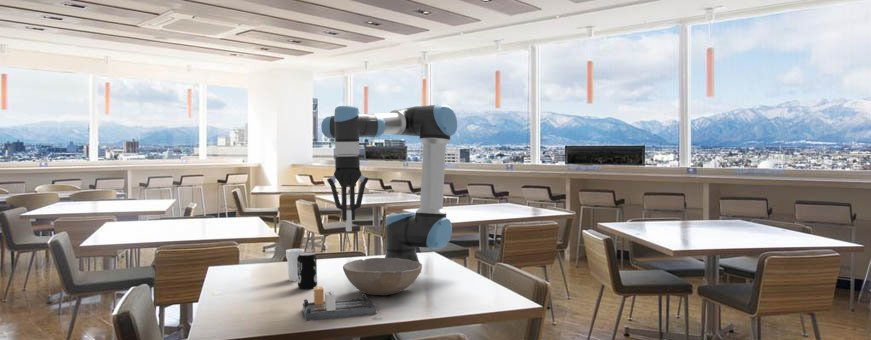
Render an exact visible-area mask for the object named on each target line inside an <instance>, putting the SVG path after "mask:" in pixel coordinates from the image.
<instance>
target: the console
mask: <svg viewBox="0 0 871 340" xmlns="http://www.w3.org/2000/svg"><path fill="white" fill-rule="evenodd" d="M335 303H336V310H333V311H327V310H326V308H325V300H324V304H320V305H315V303H314V301H313V302H309V300H308V299H303V303H302V311H303V315H304V318H305V321H317V320H329V319H339V318H348V317H349V318H350V317H359V316H370V315H371V316H372V315H377V314H378V313H377V306H376V305H375V303H374V302H373V301H372V300H371V298H370V297H367V295H366V294H361V298H360V297H359V298H350V299H349V298H348V299H335Z"/></svg>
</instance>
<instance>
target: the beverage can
mask: <svg viewBox="0 0 871 340" xmlns="http://www.w3.org/2000/svg"><path fill="white" fill-rule="evenodd" d="M298 255H299V256H298V258H297V268H298V281H297V287H298V288H299V290H300V289H301V290H312V289H313V290H314V287H318V268H317V267H318V263H317V261H318V260H317V255H316V252H313V251H304V252H303V253H299V254H298Z"/></svg>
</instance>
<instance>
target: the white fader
mask: <svg viewBox="0 0 871 340" xmlns="http://www.w3.org/2000/svg"><path fill="white" fill-rule="evenodd" d="M324 301H325V308H326V310H327V311H333V310H336V303H335V301H336V294H335V291H327V292H326V291H325V292H324Z"/></svg>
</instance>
